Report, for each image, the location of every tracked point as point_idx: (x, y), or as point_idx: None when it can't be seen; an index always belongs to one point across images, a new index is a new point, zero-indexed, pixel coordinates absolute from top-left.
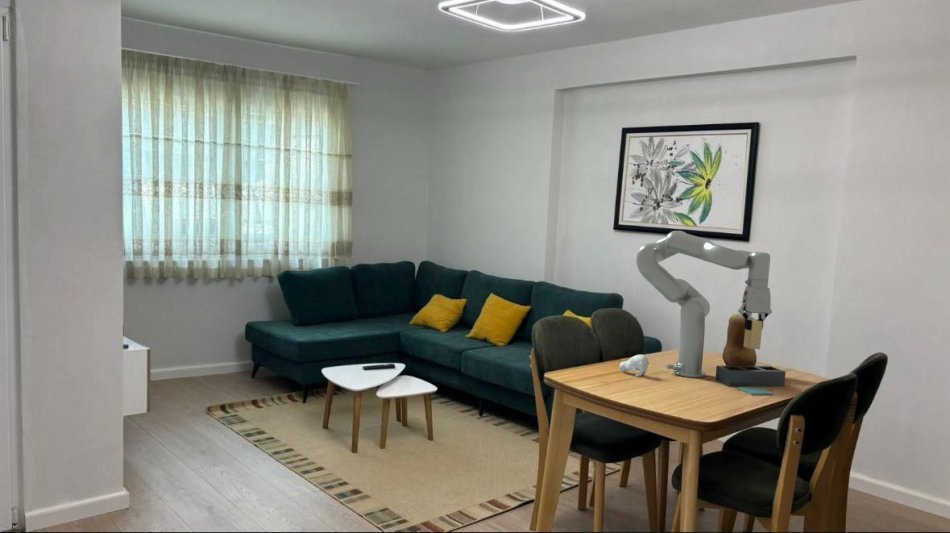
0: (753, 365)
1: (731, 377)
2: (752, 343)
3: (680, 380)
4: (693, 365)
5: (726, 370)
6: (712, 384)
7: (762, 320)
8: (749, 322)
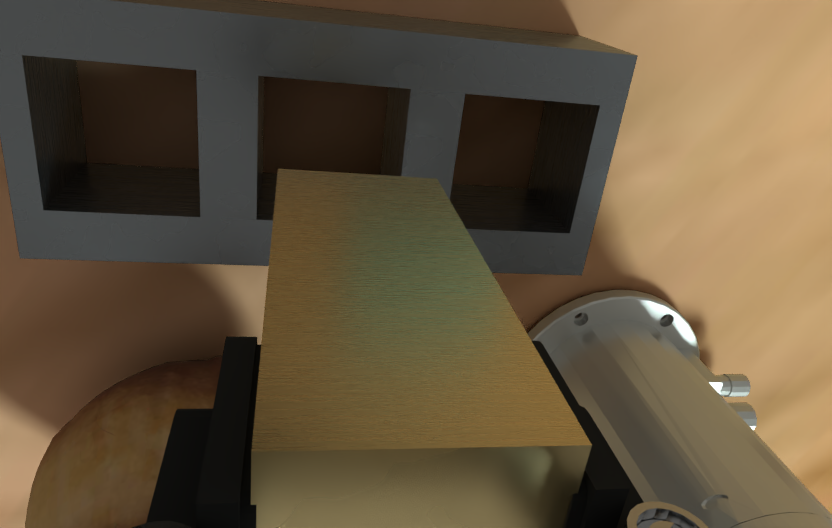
0: (118, 383)
1: (596, 45)
2: (418, 203)
3: (779, 234)
4: (670, 356)
5: (617, 119)
6: (654, 113)
7: (209, 516)
8: (598, 456)
